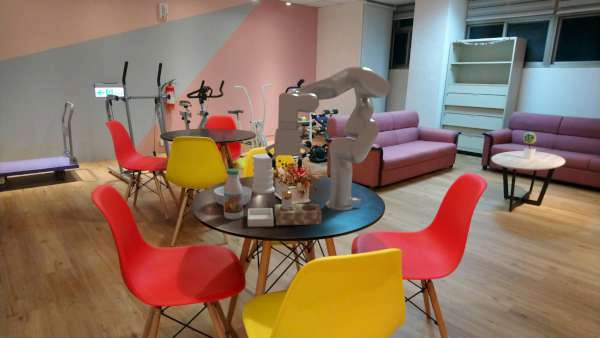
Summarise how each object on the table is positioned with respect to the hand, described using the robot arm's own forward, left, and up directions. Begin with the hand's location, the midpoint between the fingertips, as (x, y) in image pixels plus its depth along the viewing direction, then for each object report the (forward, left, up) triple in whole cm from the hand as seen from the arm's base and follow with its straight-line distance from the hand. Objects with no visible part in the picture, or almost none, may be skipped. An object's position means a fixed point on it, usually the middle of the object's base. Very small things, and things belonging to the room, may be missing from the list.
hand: (286, 169), depth 146 cm
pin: (0, 0, -21) cm, 21 cm away
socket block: (-5, 0, -21) cm, 22 cm away
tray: (+10, 0, -21) cm, 24 cm away
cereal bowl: (+22, -19, -22) cm, 37 cm away
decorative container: (+8, -40, -22) cm, 46 cm away
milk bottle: (+21, -5, -22) cm, 31 cm away
